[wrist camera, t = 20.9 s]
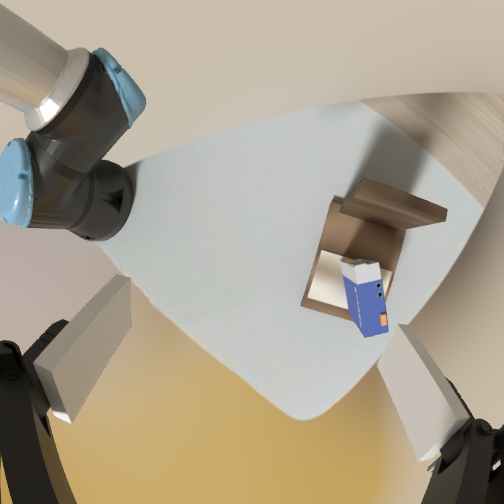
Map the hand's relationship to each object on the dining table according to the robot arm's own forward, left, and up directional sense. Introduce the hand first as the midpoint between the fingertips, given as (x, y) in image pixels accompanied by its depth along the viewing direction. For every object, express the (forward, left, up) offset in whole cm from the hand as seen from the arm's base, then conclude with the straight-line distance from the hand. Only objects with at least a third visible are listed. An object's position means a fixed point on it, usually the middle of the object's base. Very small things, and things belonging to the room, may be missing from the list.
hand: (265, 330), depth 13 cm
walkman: (+7, +6, -28) cm, 30 cm away
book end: (+5, +8, -30) cm, 31 cm away
